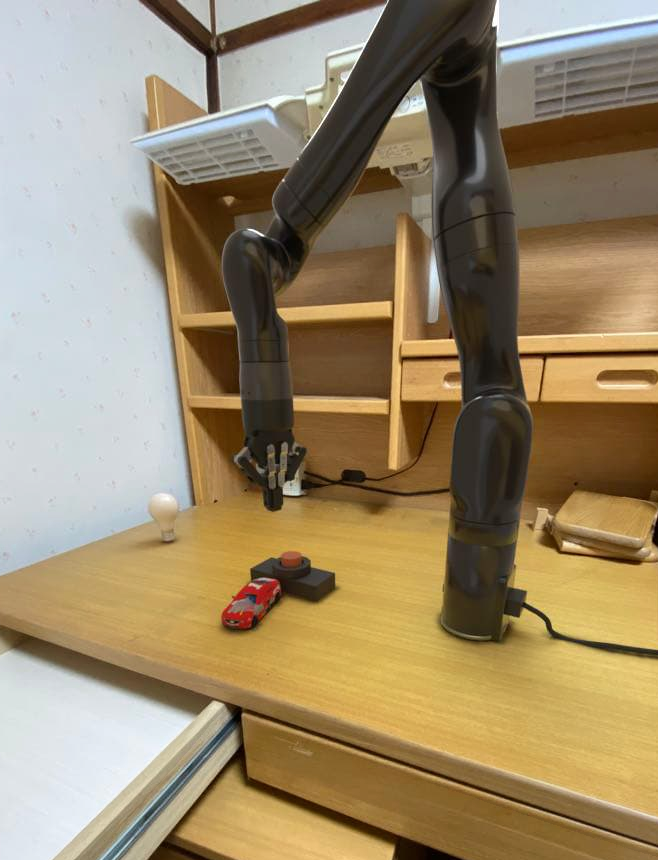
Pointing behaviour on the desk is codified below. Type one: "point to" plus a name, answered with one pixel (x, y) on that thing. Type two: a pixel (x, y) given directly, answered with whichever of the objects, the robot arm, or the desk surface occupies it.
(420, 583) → the desk surface
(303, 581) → the button base
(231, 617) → the race car
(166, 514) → the lightbulb
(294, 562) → the dock button
